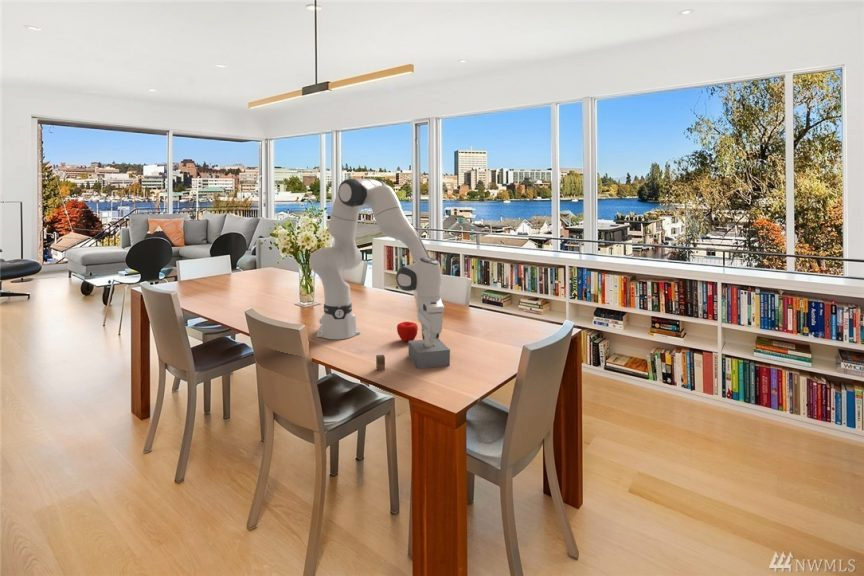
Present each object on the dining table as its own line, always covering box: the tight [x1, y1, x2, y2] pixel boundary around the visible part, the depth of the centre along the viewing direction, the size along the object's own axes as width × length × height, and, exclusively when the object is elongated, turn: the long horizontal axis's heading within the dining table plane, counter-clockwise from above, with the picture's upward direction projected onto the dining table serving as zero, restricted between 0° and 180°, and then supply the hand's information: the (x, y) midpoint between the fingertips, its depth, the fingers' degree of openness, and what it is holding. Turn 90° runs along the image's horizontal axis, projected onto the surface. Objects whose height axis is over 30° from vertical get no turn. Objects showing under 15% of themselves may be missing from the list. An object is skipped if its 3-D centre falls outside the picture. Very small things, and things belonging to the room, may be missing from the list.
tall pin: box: [424, 329, 433, 347], centre depth 177 cm, size 3×3×12 cm
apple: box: [396, 321, 419, 343], centre depth 200 cm, size 9×9×8 cm
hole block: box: [408, 338, 451, 370], centre depth 177 cm, size 14×12×6 cm
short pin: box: [375, 354, 386, 372], centre depth 168 cm, size 3×3×5 cm
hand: (428, 338), depth 176 cm, fingers open, 8 cm apart
